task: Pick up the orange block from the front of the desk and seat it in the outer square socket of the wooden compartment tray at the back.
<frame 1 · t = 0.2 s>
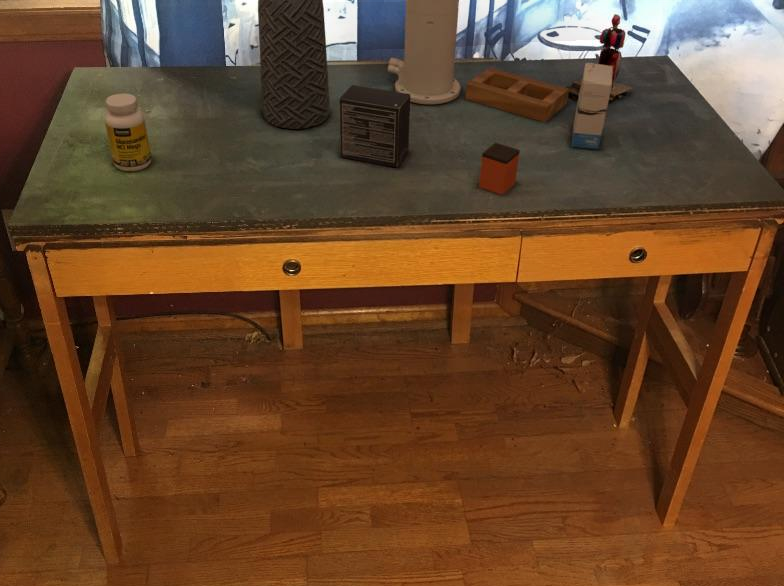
statue: (594, 95, 166), on the table
orange block: (497, 185, 140), on the table
pill bottle: (133, 164, 143), on the table
small box: (374, 155, 147), on the table
wooden compartment tray: (515, 101, 163), on the table
vase: (296, 116, 157), on the table
ink box: (585, 139, 153), on the table
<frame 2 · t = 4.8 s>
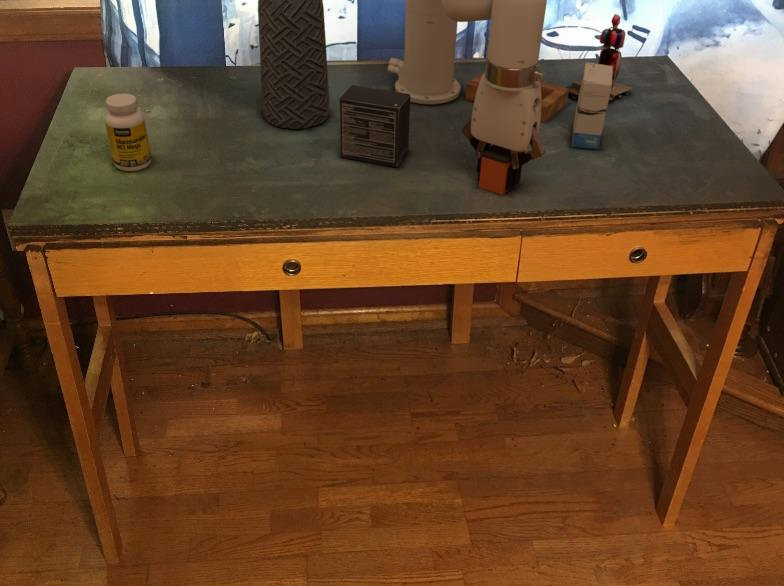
hand: (497, 181, 139), 1 cm above the table, tool pointing down, fingers closed on orange block, 4 cm apart
orange block: (496, 185, 140), on the table, touching gripper
everything else where it was.
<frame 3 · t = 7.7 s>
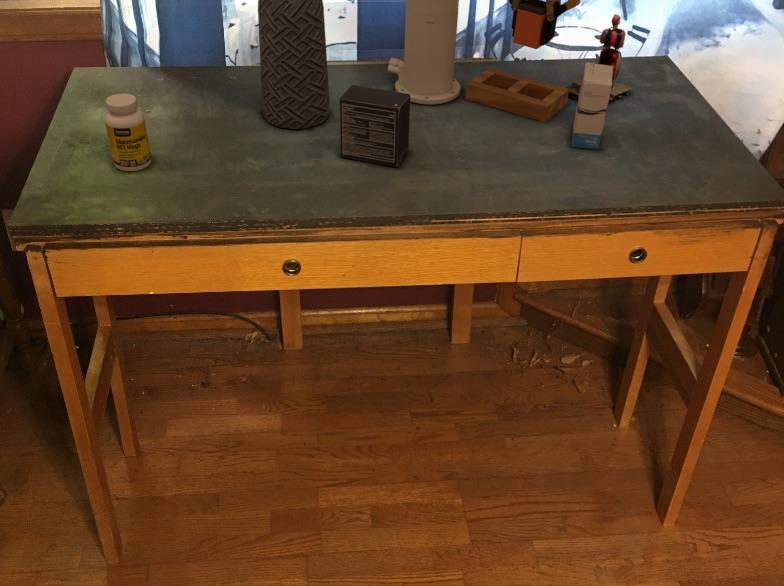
hand: (531, 37, 141), 17 cm above the table, tool pointing down, fingers closed on orange block, 4 cm apart
orange block: (531, 42, 142), point 16 cm above the table, touching gripper
everything else where it was.
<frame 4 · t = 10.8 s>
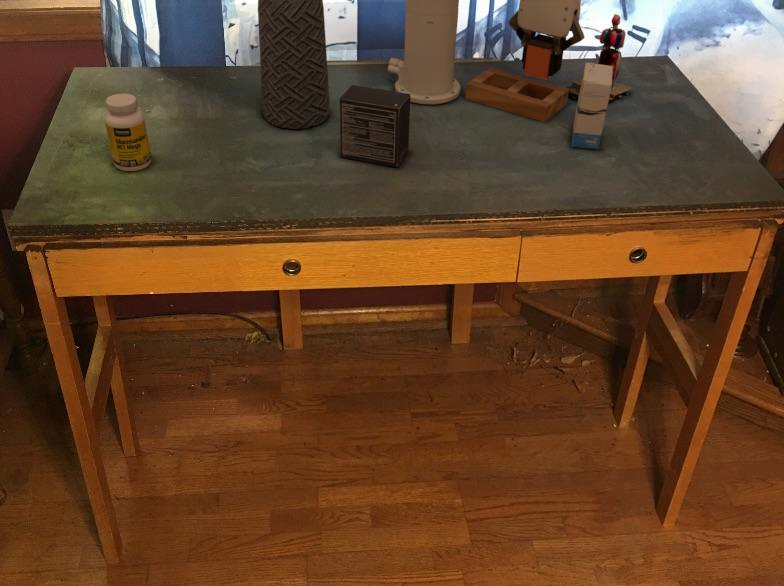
hand: (540, 69, 156), 7 cm above the table, tool pointing down, fingers closed on orange block, 4 cm apart
orange block: (540, 73, 157), point 6 cm above the table, touching gripper
everything else where it was.
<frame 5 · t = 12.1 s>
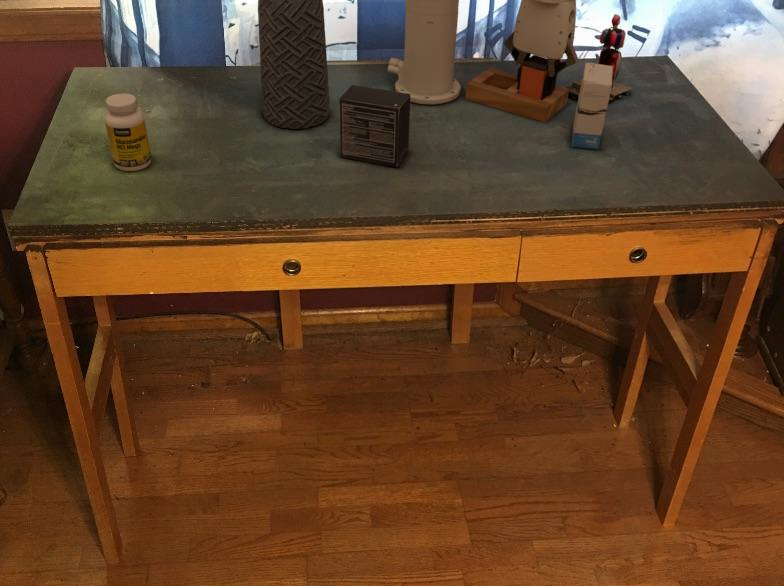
hand: (534, 89, 159), 3 cm above the table, tool pointing down, fingers closed on orange block, 4 cm apart
orange block: (534, 93, 160), point 3 cm above the table, touching gripper
everything else where it was.
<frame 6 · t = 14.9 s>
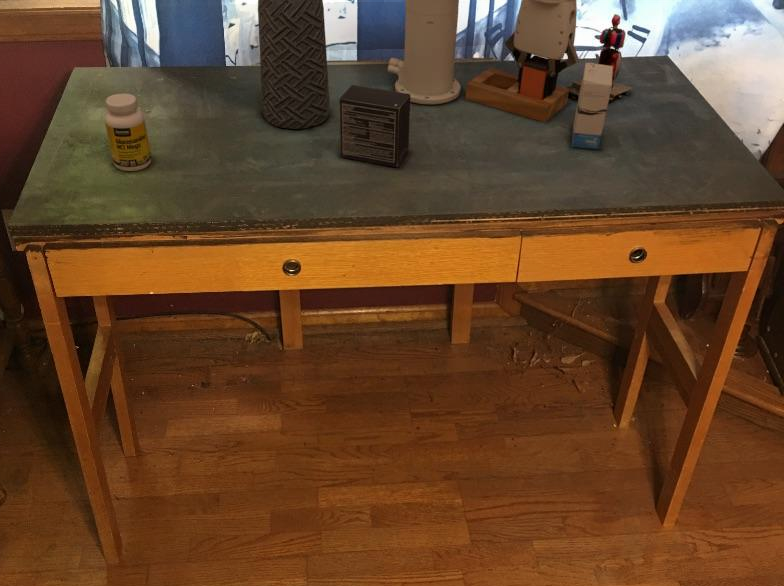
hand: (535, 90, 159), 3 cm above the table, tool pointing down, fingers closed on orange block, 4 cm apart
orange block: (535, 93, 160), point 2 cm above the table, touching gripper
everything else where it was.
when the fingers open (4 cm above the table, at t = 17.1 s): orange block drops 3 cm, resting in wooden compartment tray.
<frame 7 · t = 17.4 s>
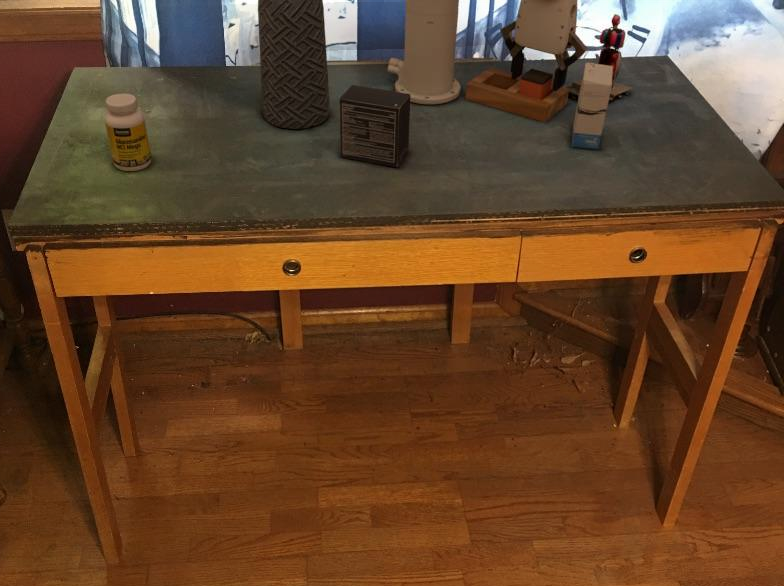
hand: (536, 82, 158), 5 cm above the table, tool pointing down, fingers open, 7 cm apart
orange block: (532, 106, 161), resting in wooden compartment tray
everything else where it was.
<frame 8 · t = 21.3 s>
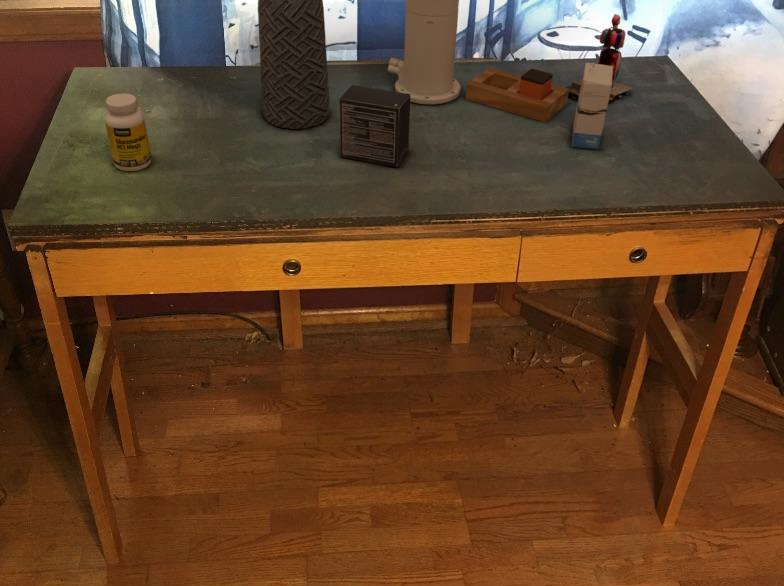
nothing on the table moved.
at the end: orange block 0.2 cm from the target spot in the wooden compartment tray, point 0.0 cm above the wooden compartment tray's base; orange block tilted 0° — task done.
